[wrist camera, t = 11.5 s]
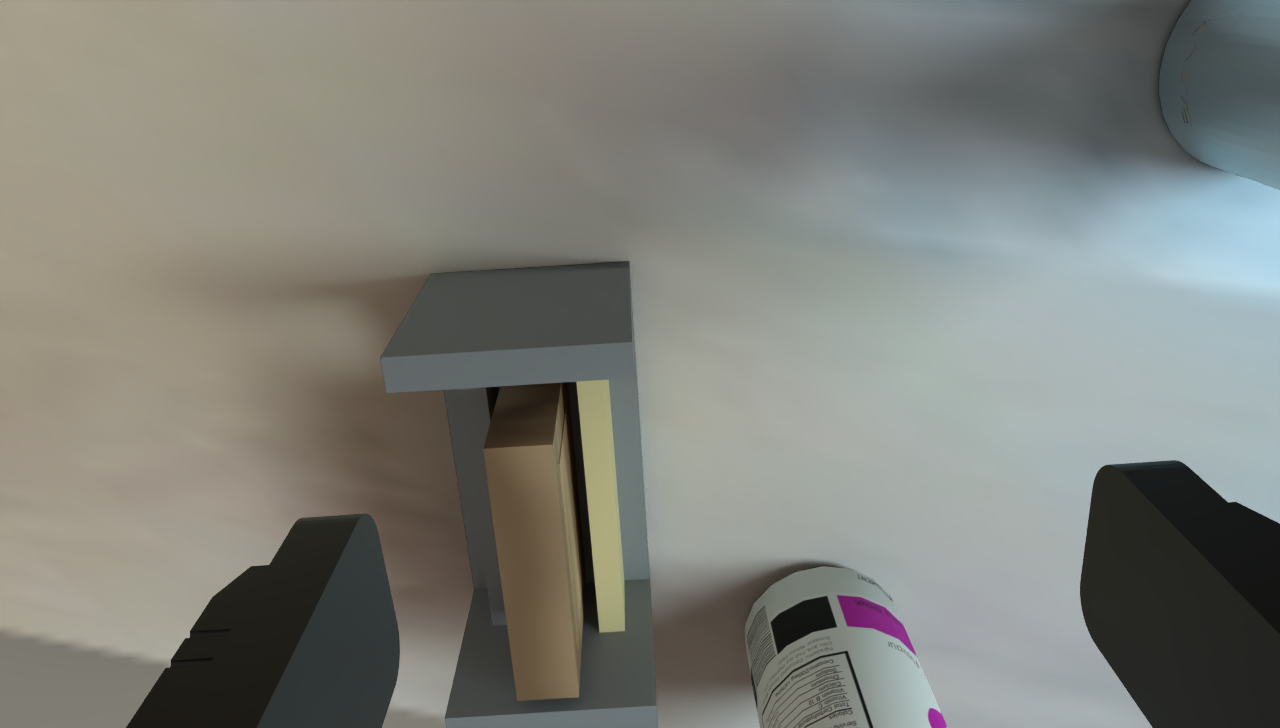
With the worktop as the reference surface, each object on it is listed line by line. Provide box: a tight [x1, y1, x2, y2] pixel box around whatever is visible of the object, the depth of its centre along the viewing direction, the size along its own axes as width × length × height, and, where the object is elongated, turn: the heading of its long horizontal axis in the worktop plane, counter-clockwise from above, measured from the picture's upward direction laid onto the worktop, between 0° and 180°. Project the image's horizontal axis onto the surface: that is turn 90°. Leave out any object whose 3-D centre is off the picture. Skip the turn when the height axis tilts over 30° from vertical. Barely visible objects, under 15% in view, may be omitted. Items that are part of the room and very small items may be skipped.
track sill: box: [380, 261, 658, 728], centre depth 42 cm, size 9×18×10 cm, turn 3°
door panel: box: [483, 382, 586, 701], centre depth 42 cm, size 3×12×9 cm, turn 3°
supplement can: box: [745, 566, 948, 728], centre depth 44 cm, size 8×8×15 cm
